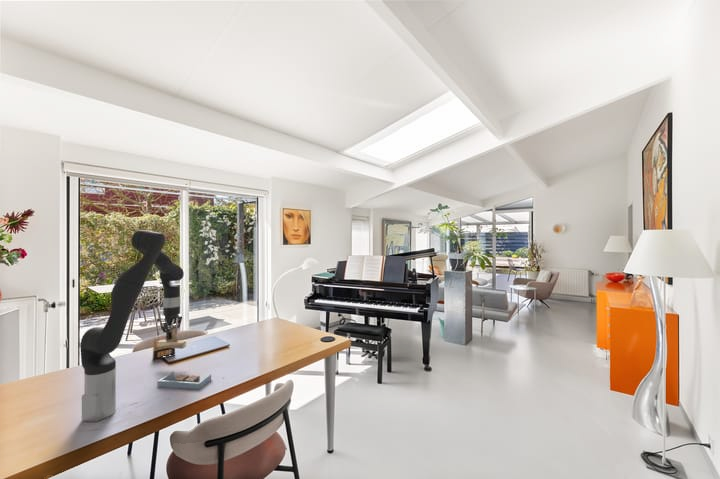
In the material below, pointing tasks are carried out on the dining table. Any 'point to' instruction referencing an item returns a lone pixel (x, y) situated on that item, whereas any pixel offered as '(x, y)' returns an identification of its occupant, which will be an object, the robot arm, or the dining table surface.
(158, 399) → the dining table surface
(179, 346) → the wooden base with post
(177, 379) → the block
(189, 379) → the block
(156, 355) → the ammunition clip
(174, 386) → the tray
